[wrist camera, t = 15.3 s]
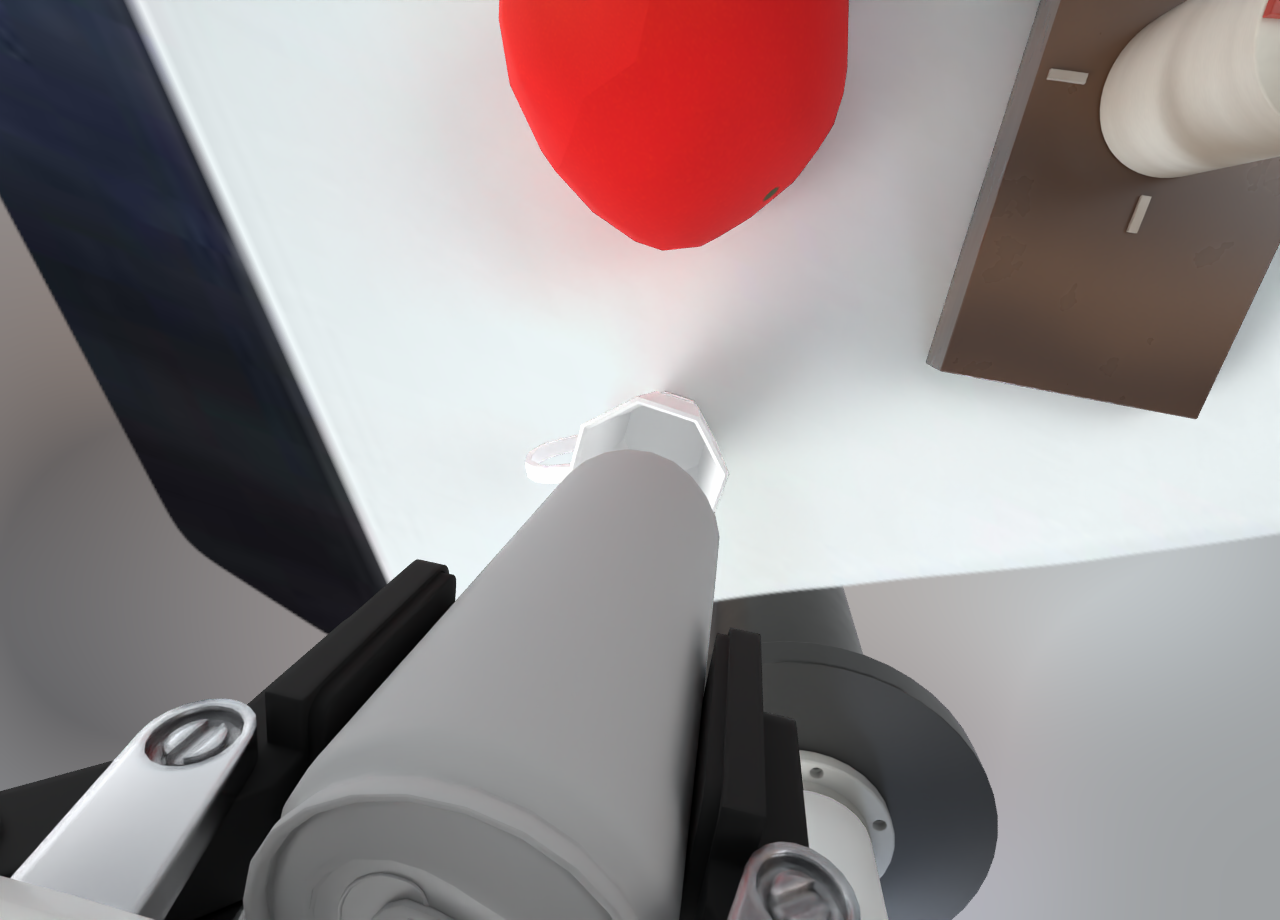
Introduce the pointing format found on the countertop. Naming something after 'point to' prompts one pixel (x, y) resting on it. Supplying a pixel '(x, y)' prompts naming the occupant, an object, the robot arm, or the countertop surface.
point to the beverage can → (525, 729)
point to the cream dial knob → (1197, 90)
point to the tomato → (677, 103)
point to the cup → (642, 441)
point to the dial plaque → (1101, 240)
